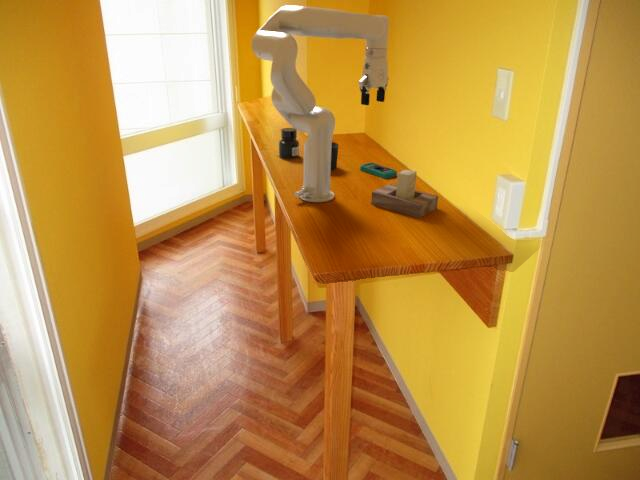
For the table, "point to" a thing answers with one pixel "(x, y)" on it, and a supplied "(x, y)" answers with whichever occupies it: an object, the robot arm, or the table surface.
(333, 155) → the pen holder
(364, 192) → the table surface
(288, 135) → the ink bottle
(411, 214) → the rail
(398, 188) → the skincare box
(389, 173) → the digital multimeter
